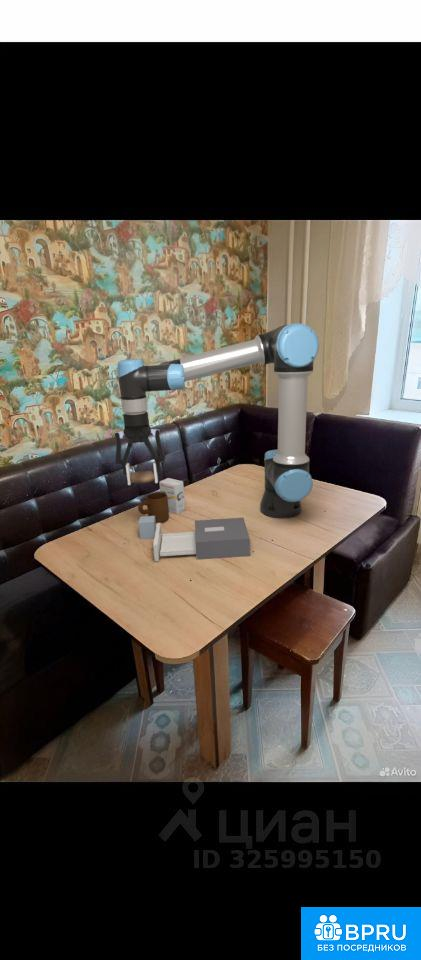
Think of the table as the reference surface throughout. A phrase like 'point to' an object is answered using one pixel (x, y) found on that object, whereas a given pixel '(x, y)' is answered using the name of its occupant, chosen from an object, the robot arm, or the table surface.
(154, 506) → the mug
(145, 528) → the block
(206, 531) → the housing
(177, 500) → the ink box
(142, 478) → the coaster
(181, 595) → the table surface
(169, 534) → the tray
